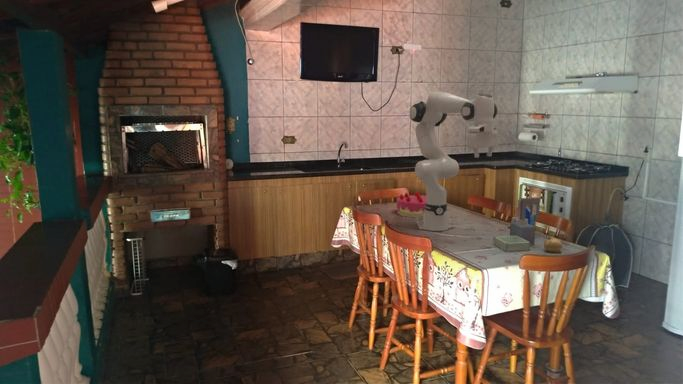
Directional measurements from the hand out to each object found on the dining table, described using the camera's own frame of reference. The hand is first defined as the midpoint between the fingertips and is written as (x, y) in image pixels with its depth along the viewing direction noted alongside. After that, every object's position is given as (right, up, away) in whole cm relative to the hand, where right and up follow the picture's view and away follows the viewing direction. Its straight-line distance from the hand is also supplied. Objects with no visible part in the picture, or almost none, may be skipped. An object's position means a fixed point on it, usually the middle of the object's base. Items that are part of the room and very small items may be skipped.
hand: (483, 156), depth 247 cm
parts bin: (+14, -44, 0) cm, 46 cm away
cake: (-20, -31, +78) cm, 87 cm away
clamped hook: (+23, -35, +6) cm, 42 cm away
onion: (+31, -45, -6) cm, 55 cm away
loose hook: (+23, -31, +2) cm, 38 cm away
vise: (+22, -42, +10) cm, 49 cm away
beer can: (+28, -41, +22) cm, 54 cm away
